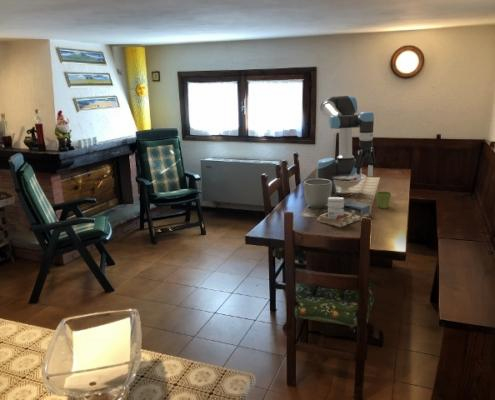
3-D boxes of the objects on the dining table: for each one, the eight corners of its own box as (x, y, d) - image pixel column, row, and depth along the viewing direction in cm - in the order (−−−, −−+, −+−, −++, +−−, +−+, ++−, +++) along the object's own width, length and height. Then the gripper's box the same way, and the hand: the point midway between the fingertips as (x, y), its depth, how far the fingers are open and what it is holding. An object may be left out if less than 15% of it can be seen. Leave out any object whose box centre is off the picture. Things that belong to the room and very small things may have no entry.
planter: (314, 201, 267) (314, 177, 263) (337, 205, 255) (337, 180, 251) (298, 207, 256) (297, 182, 251) (320, 212, 244) (320, 186, 239)
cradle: (340, 227, 218) (340, 219, 217) (316, 220, 230) (316, 213, 229) (370, 215, 236) (370, 207, 234) (347, 209, 247) (347, 202, 246)
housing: (362, 215, 231) (362, 207, 230) (340, 209, 242) (340, 202, 241) (369, 212, 236) (370, 204, 234) (347, 207, 247) (348, 200, 245)
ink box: (343, 217, 230) (344, 196, 226) (343, 220, 225) (344, 199, 222) (328, 216, 232) (328, 196, 228) (327, 219, 227) (327, 198, 224)
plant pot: (372, 205, 253) (373, 191, 251) (387, 204, 254) (388, 190, 251) (378, 209, 244) (379, 195, 242) (393, 208, 245) (394, 194, 243)
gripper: (359, 142, 223) (358, 182, 229) (383, 137, 237) (381, 175, 244) (348, 141, 229) (347, 180, 235) (371, 136, 243) (370, 173, 249)
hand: (364, 177), depth 239 cm, fingers open, 10 cm apart
